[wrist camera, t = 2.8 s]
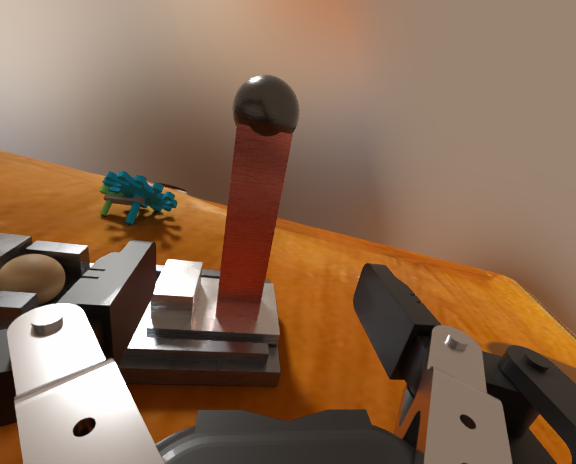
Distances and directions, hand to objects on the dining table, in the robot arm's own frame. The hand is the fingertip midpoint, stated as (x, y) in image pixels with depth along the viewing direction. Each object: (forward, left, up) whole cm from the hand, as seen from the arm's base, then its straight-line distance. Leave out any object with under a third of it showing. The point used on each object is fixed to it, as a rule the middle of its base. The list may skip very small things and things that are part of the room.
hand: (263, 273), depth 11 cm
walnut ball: (-6, +18, -12) cm, 23 cm away
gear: (+7, +36, -14) cm, 39 cm away
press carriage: (+5, +10, -12) cm, 16 cm away
